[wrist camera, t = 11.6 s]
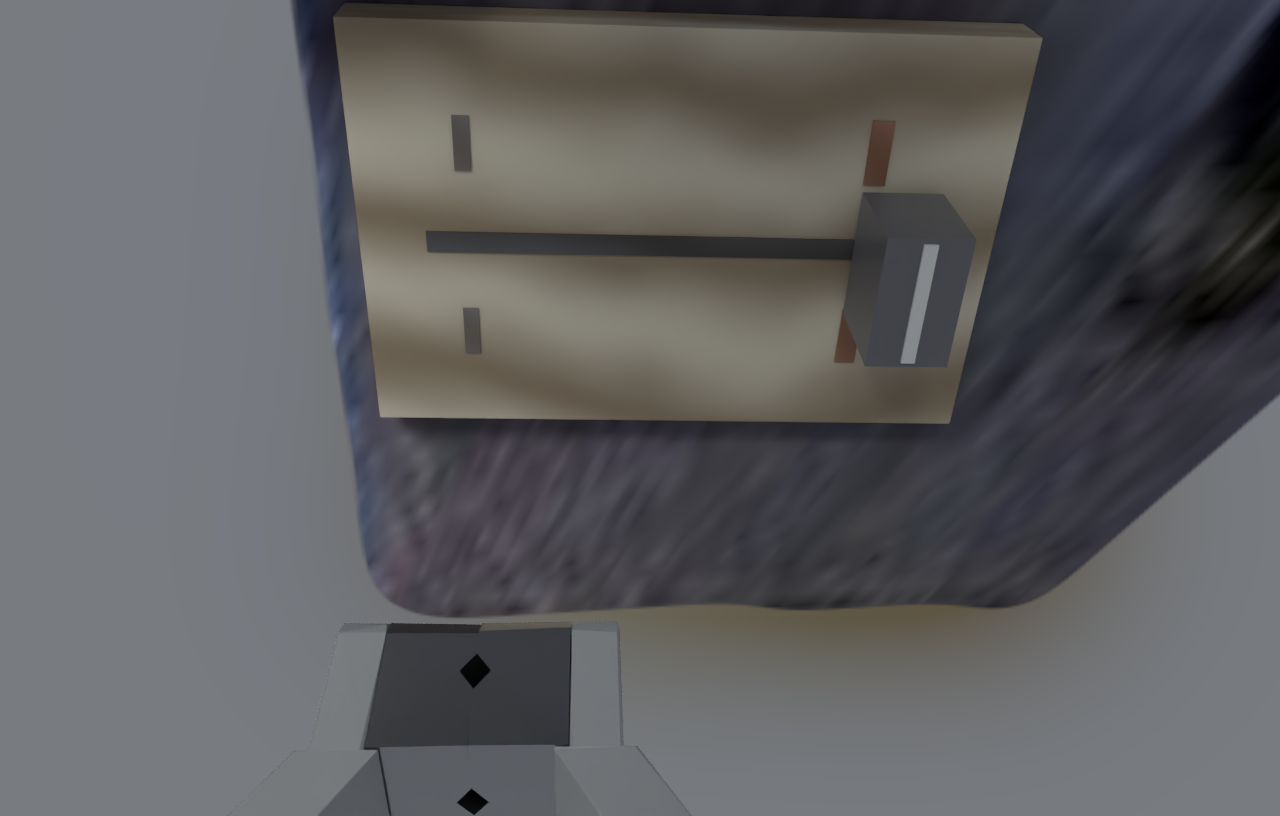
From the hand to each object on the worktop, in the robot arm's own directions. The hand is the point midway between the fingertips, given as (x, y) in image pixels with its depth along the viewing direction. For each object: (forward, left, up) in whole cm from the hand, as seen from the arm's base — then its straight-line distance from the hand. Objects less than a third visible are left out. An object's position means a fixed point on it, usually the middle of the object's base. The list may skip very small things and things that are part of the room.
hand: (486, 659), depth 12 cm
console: (+8, +5, -30) cm, 32 cm away
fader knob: (+8, +13, -28) cm, 32 cm away
